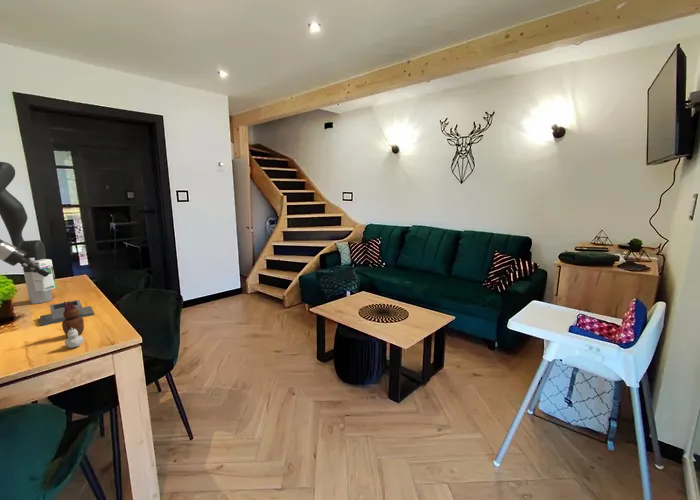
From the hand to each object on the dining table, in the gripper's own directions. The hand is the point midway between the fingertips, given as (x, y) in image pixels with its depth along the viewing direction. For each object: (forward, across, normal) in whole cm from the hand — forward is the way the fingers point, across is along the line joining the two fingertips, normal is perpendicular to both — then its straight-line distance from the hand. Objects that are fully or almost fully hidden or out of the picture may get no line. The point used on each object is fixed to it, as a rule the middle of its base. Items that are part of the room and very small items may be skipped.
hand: (47, 273), depth 163 cm
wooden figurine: (+17, -43, +10) cm, 48 cm away
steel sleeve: (+17, -13, +11) cm, 24 cm away
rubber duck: (+16, -56, +10) cm, 60 cm away
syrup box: (+4, 0, +7) cm, 8 cm away
